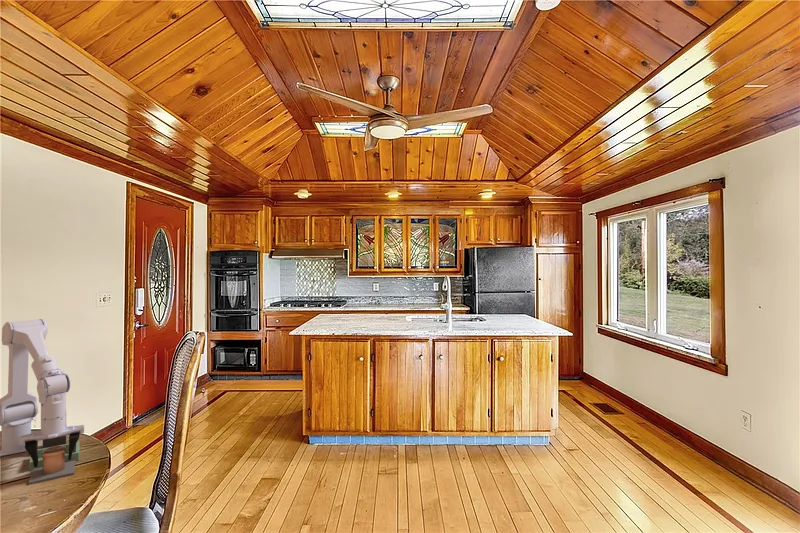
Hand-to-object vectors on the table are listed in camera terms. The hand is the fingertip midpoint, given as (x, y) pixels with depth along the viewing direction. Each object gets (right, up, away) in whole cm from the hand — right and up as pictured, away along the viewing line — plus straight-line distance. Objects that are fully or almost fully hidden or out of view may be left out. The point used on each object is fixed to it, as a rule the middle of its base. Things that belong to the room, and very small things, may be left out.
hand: (53, 462), depth 123 cm
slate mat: (0, -3, 0) cm, 3 cm away
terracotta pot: (0, -3, +1) cm, 3 cm away
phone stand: (-13, -3, +16) cm, 21 cm away
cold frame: (-6, -3, +8) cm, 10 cm away
